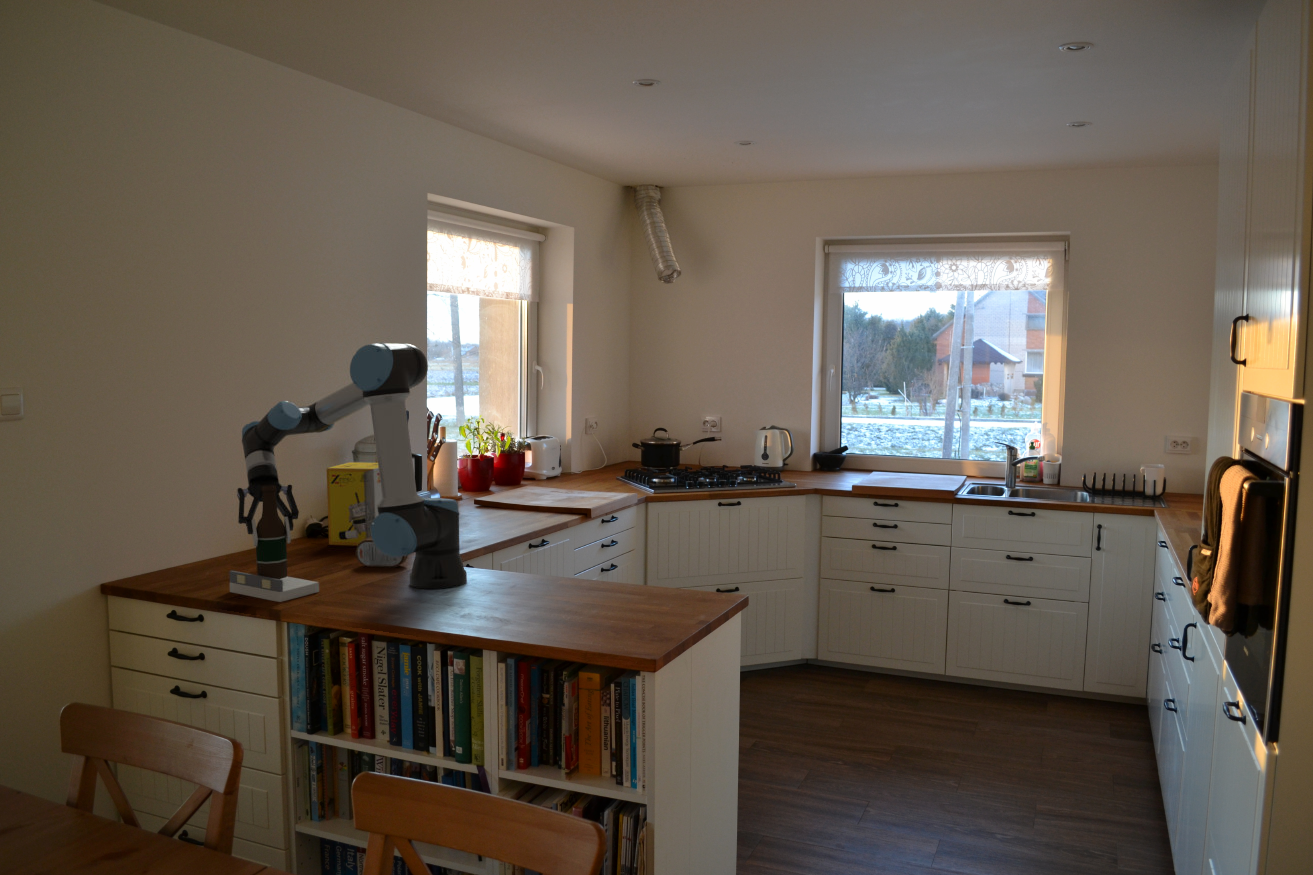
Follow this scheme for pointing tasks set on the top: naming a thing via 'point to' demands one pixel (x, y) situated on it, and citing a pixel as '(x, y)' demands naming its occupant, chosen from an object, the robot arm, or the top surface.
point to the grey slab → (271, 586)
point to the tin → (376, 556)
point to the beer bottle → (271, 538)
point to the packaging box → (352, 501)
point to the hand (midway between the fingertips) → (272, 541)
